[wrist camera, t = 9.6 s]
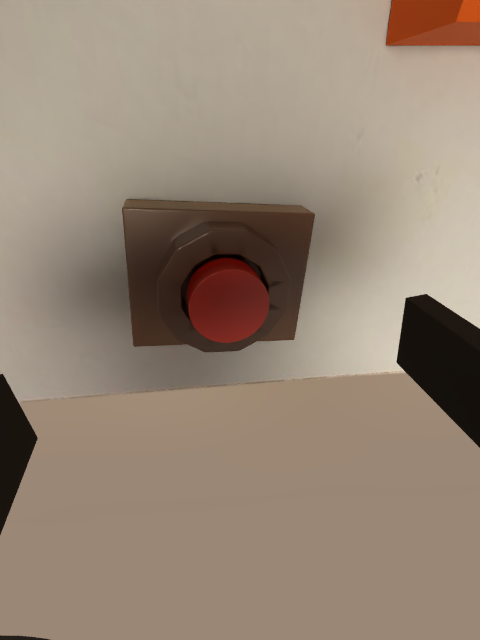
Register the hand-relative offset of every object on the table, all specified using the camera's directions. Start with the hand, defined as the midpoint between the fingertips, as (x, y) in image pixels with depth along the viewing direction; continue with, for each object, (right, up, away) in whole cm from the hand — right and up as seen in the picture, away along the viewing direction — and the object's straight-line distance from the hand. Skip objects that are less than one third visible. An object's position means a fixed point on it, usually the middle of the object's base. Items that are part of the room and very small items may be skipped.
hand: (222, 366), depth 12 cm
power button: (0, +3, +7) cm, 8 cm away
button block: (-1, +5, +10) cm, 11 cm away
